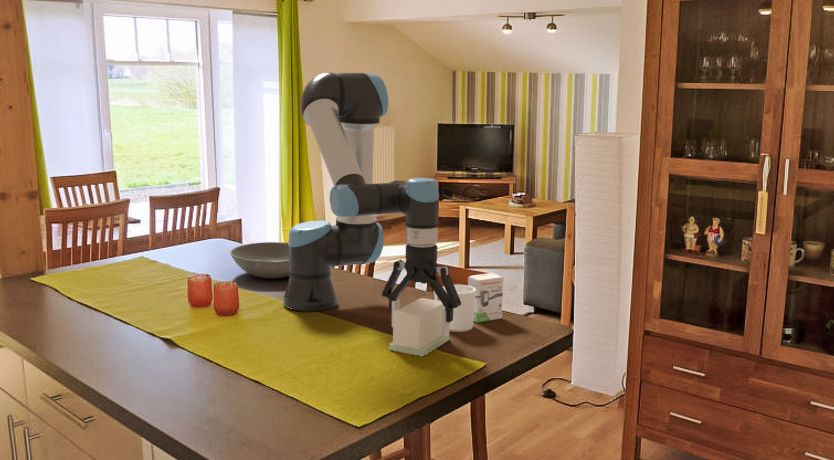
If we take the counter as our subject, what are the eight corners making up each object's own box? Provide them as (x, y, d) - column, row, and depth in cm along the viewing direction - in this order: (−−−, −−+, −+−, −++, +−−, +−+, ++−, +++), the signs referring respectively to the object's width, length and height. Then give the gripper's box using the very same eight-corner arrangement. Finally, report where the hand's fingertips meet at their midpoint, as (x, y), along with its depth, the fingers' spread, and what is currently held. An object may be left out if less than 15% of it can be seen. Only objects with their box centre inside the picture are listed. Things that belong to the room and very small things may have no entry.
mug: (478, 324, 207) (479, 286, 205) (469, 334, 199) (470, 295, 197) (438, 319, 211) (439, 282, 209) (428, 329, 202) (428, 290, 201)
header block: (389, 350, 187) (389, 323, 185) (417, 333, 199) (417, 309, 197) (423, 356, 182) (423, 329, 181) (449, 339, 195) (449, 314, 193)
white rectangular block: (419, 349, 183) (419, 316, 181) (393, 344, 186) (393, 311, 184) (445, 333, 195) (446, 301, 193) (420, 328, 198) (420, 297, 196)
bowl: (216, 283, 245) (215, 257, 243) (250, 263, 272) (249, 239, 270) (301, 288, 240) (300, 262, 239) (326, 267, 268) (326, 243, 266)
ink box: (476, 323, 208) (478, 280, 206) (466, 318, 213) (467, 275, 210) (502, 318, 213) (504, 276, 211) (491, 313, 217) (493, 272, 215)
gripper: (368, 241, 188) (367, 326, 192) (463, 252, 177) (460, 343, 181) (384, 235, 195) (383, 318, 199) (476, 246, 183) (473, 334, 187)
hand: (420, 330), depth 190 cm, fingers open, 13 cm apart
